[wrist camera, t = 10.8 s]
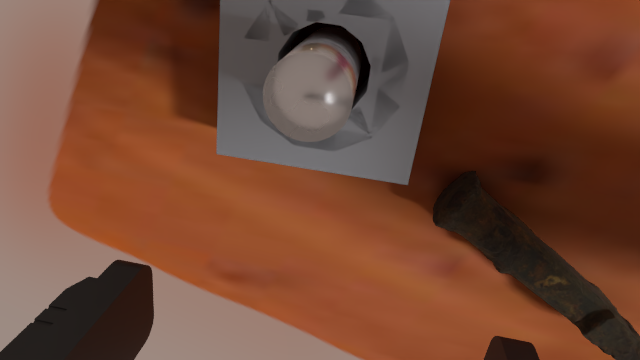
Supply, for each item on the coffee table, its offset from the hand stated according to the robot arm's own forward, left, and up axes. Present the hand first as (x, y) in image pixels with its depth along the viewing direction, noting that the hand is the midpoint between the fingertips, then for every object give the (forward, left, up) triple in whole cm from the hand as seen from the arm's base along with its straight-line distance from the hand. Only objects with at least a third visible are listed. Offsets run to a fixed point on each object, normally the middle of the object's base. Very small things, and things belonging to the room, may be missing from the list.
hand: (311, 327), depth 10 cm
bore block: (+2, -2, -21) cm, 21 cm away
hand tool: (-15, +9, -22) cm, 28 cm away
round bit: (+2, -2, -21) cm, 21 cm away
